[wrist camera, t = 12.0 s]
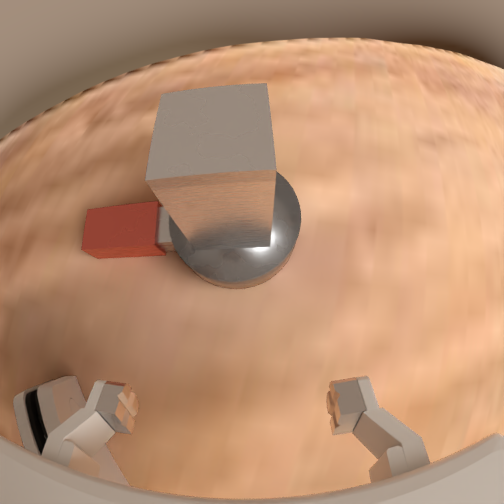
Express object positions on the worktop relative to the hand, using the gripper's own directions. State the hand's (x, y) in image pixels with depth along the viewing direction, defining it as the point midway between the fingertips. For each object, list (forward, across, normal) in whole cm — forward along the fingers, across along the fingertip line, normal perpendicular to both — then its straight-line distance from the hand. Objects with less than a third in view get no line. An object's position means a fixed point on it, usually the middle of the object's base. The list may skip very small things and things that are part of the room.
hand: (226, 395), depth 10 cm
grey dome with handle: (+14, +4, -1) cm, 14 cm away
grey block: (+12, 0, -3) cm, 12 cm away
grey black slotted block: (0, +12, +14) cm, 18 cm away
